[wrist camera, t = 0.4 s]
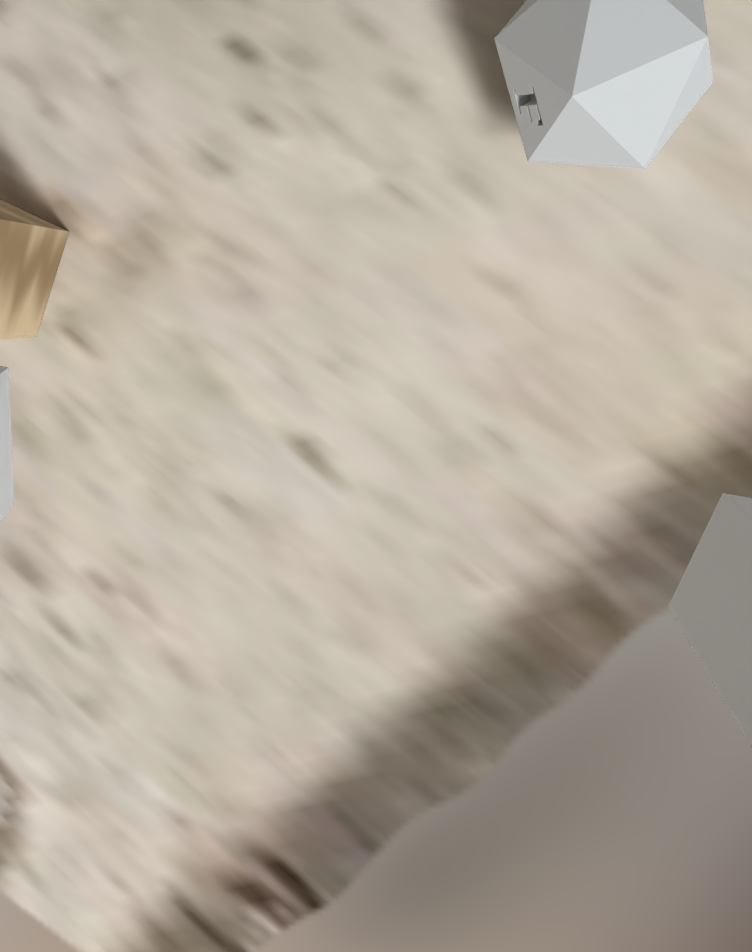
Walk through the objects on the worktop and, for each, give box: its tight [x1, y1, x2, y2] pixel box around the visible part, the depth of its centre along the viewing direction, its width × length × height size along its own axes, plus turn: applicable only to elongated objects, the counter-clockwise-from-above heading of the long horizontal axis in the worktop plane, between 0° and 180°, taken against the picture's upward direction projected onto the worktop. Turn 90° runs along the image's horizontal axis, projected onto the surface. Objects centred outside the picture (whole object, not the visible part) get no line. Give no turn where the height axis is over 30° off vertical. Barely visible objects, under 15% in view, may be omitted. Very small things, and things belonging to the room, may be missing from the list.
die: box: [494, 0, 713, 169], centre depth 30 cm, size 8×9×10 cm
